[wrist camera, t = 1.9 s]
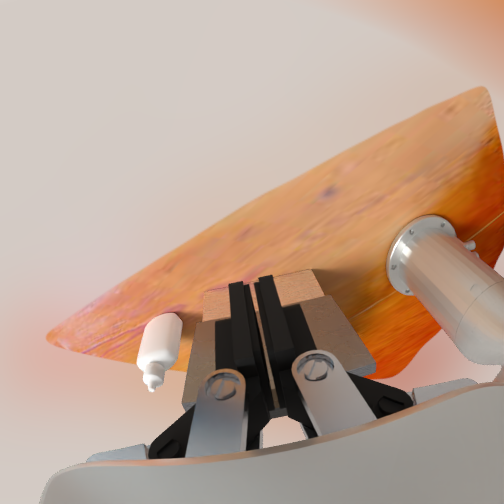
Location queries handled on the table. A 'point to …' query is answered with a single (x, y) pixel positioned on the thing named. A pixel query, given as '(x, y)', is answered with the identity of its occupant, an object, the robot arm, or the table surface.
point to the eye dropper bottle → (159, 348)
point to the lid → (321, 327)
